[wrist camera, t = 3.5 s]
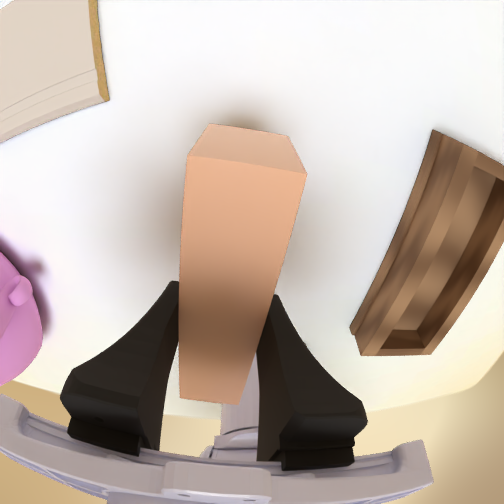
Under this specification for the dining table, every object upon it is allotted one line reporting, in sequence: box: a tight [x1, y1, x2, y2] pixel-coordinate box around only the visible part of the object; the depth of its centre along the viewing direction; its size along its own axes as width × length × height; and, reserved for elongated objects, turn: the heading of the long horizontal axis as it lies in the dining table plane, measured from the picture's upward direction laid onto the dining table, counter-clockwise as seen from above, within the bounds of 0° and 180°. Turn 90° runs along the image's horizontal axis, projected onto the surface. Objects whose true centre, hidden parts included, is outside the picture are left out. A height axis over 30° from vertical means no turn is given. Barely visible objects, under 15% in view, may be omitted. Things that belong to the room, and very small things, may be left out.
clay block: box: [179, 123, 307, 405], centre depth 14 cm, size 14×4×5 cm, turn 170°
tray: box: [350, 130, 504, 356], centre depth 21 cm, size 19×9×4 cm, turn 170°
